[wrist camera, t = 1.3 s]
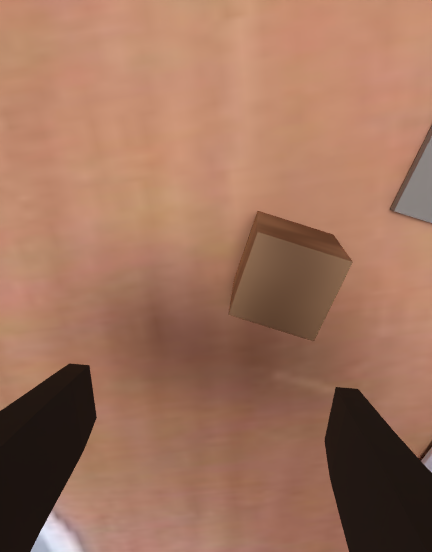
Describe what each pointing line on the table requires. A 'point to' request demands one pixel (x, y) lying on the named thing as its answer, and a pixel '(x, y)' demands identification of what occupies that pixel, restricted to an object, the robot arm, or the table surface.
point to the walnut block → (288, 276)
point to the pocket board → (417, 186)
